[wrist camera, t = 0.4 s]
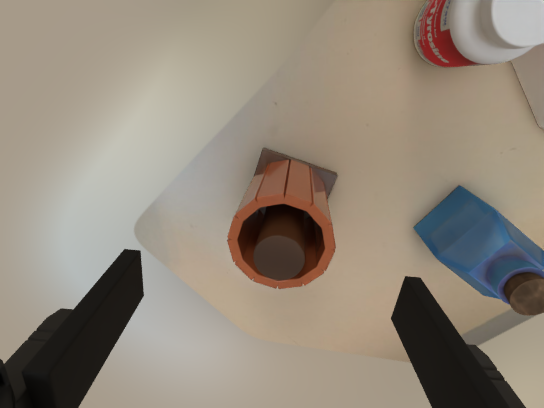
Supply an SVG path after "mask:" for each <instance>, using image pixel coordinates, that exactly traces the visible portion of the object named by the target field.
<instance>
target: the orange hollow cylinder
mask: <svg viewBox="0 0 544 408" xmlns="http://www.w3.org/2000/svg"><path fill="white" fill-rule="evenodd" d="M278 204H287V205H290V206H293V207H295V208H298V209H301V210H304V211H307V212H308V214H309V215H310V217H309V218H308V219H306V220H305V262H304V266H303V268H302V270H301V271H300V272H299V273H298V274H297V275H296V276H294V277H292V278H290V279H286V280H274V279H271V278H268V277H266V276H264V275H263V274H262V273H261V272H260V271H259V270H258V269H257V267H256V266H255V263H254V259H253V254H254V250H255V246H256V243H257V239H258V236H259V232H260V229H261V225H262V222H263V218H264V214H263V213H262V212H261V211H260V210H259V208H260V207H265V206H272V205H278ZM227 241H228V245H229V248H230V252H231V255H232V259H233V262H235V265H236V266H238V267H239V268H240V269H241V270H242V271H243V272H244V273H245V274H246V275H247V276H248V277H249V278H250V279H251V280H252V279H253V278H254V282H257V283H261V284H264V285H267V286H270V287H273V288H277V286H278V288H279V289H282V288H291V287H300V286H302V283H303V284H304V285H306V284H308V283H309V282H311V281H312V280H314V279H315V278H317V277H319V276H320V275H322V274H323V273H324V271H326V269H327V267H328V265H329V263H330V261H331V259H332V257H333V254H334V252H335V248H336V246H335V239H334V233H333V226H332V221H331V216H330V211H329V206H328V201H327V196H326V191H325V186H324V183H323V180H322V179H321V178H320V177H319V176H318V175H317V173H316V172H315V171H314V170H313V169H312V168H311V167H310V168H309V166H308V165H305V164H302V163H300V162H297V161H294V160H291V161H289V159H288V160H283V161H278V162H272V163H270V165H269V164H268V165H266V166H265V167H264V168H263V169H262V170H261V171H259V172H258V173H257V174H256V175H255V176H254V178H253V179H252V181H251V183H250V185H249V187H248V189H247V191H246V193H245V195H244V197H243V199H242V201H241V203H240V205H239V207H238V209H237V211H236V213H235V215H234V217H233V221H232V224H231V227H230V230H229V234H228V240H227Z"/></svg>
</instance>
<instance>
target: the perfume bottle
mask: <svg viewBox="0 0 544 408" xmlns="http://www.w3.org/2000/svg"><path fill="white" fill-rule="evenodd" d="M413 228H414V229H415V230H416V232H417V233H418V234H419V236H420V237H421V239H422V240H423V241H424V243H425V244H426V245H427V247H428V248H429V249H430V251H431V252H432V253H433V255H434V256H435V257H436V258H437V259H438V260H439V261H440V262H442V263H443V264H444V265H445V266H447V267H448V268H449V269H451V270H452V271H453V272H454V273H456V274H457V275H458V276H459V277H461V278H462V279H463V280H465V281H466V282H467V283H468V284H470V285H471V286H472V287H473V288H475V289H476V290H477V291H479V292H480V293H481V294H482V295H484V296H489V297H493V298H498V299H502V301H504V302H505V303H507V304H510V306H511V307H512V308H513V310H514V311H515V312H517V313H519V314H522V315H537V314H541V313H544V272H543V271H542V270H543V269H544V251H543V250H542V249H541V248H540V247H539V246H537V245H536V244H535V243H534V242H533V241H532V240H530V239H529V238H528V237H527V236H526V235H525V234H523V233H522V232H521V231H520V230H519V229H518V228H516V227H515V226H514V225H513V224H512V223H511V222H509V221H508V220H507V219H506V218H505V217H504V216H502V215H501V214H500V213H499V212H498V211H497V210H495V209H494V208H493V207H491V206H490V205H488V204H487V203H485V202H484V201H482V200H481V199H479V198H478V197H476V196H475V195H473V194H472V193H470V192H469V191H468V190H466V189H465V188H463V187H462V186H458V187H457V188H456V189H455V190H454V191H453V192H452V193H451V194H450V195H449V196H448V197H446V198H445V199H444V200H443V201H442V202H441V203H440V204H439V205H438V206H437V207H435V208H434V209H433V210H432V211H431V212H430V213H429V214H428V215H427V216H426V217H424V218H423V219H422V220H421V221H420V222H419V223H418V224H417V225H416V226H415V227H413Z"/></svg>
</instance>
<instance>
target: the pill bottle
mask: <svg viewBox="0 0 544 408" xmlns="http://www.w3.org/2000/svg"><path fill="white" fill-rule="evenodd" d="M414 43H415V47H416V49H417V51H418V53H419V55H420V56H421V57H422V58H423V59H424V60H425V61H426V62H428V63H429V64H431V65H434V66H438V67H460V66H475V65H491V64H498V63H503V62H507V61H510V60H513V59H515V58H517V57H519V56H521V55H523V54H525V53H526V52H528V51H529V50H531V49H532V48H533V47H534V46H537V45H540V44H543V43H544V0H427V1H426V3H425V4H424V5H423V7H422V8H421V10H420V12H419V14H418V16H417V18H416V21H415V26H414Z"/></svg>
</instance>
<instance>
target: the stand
mask: <svg viewBox="0 0 544 408" xmlns="http://www.w3.org/2000/svg"><path fill="white" fill-rule="evenodd" d="M288 159H289V161H291V160H294V161H297V162H300V163H302V164H305V165H308V166H309V168H310V167H311V168H312V169H313V170H314V171H315V172H316V173H317V175H318V176H319V177H320V178H321V179H322V180H323V183H324V186H325V191H326V196H327V199H328V196H329V194H330V192H331V190H332V187H333V185H334V183H335V180H336V178H337V173H336V172H333V171H330V170H327V169H324V168H321V167H318V166H315V165H312V164H310V163H307V162H304V161H301V160H298V159H295V158H292V157H289V156H287V155H284V154H281V153H278V152H275V151H272V150H269V149H266V148H263V150H262V152H261V156H260V159H259V162H258V165H257V168H256V171H255V174H254V176H255V175H256V174H257V173H258V172H259V171H261V170H262V169H263V168H264V167H265V166H266V165H268V164H269V165H270V163H272V162H278V161H283V160H288ZM259 210H260V211H261V212H262V213H263V214H264V218H263V222H262V225H261V229H260V232H259V236H258V239H257V243H256V246H255V250H254V254H253V259H254V263H255V266H256V267H257V269H258V270H259V271H260V272H261V273H262V274H263V275H264V276H266V277H268V278H271V279H274V280H286V279H290V278H292V277H294V276H296V275H297V274H298V273H299V272H300V271H301V270H302V268H303V266H304V262H305V220H306V219H308V218H309V217H310V215H309V214H308V212H307V211H304V210H301V209H298V208H295V207H293V206H290V205H287V204H278V205H272V206H265V207H260V208H259Z"/></svg>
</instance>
